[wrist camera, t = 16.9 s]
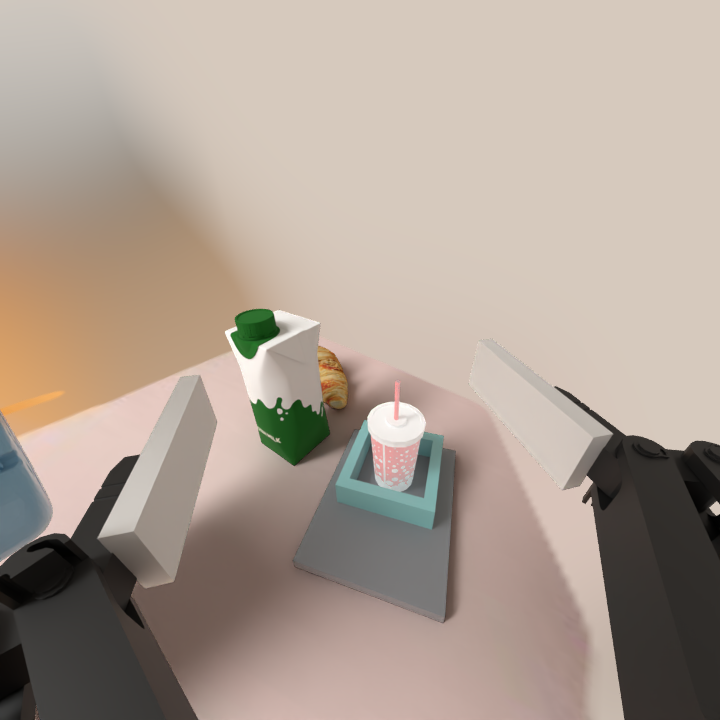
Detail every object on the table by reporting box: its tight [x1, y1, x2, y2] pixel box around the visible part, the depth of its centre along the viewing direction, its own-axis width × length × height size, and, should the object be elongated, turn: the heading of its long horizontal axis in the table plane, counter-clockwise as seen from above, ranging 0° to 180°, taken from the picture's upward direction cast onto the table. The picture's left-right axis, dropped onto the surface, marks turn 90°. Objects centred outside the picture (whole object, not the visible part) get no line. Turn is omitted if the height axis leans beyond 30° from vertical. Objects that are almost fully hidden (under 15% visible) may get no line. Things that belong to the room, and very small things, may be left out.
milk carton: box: [225, 309, 330, 466], centre depth 38 cm, size 9×9×20 cm
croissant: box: [317, 346, 348, 409], centre depth 53 cm, size 21×10×8 cm, turn 33°
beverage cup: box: [367, 380, 426, 492], centre depth 32 cm, size 6×6×14 cm
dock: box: [293, 420, 456, 623], centre depth 33 cm, size 18×14×4 cm
